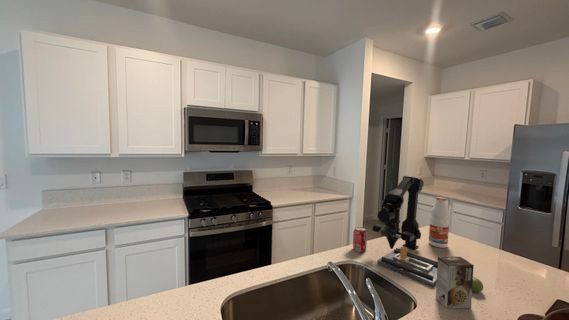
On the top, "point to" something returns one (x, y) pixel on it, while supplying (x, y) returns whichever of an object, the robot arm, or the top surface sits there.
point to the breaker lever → (403, 254)
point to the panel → (413, 264)
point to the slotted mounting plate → (414, 258)
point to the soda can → (359, 239)
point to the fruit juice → (439, 224)
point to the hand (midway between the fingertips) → (391, 248)
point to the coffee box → (454, 282)
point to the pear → (477, 285)
